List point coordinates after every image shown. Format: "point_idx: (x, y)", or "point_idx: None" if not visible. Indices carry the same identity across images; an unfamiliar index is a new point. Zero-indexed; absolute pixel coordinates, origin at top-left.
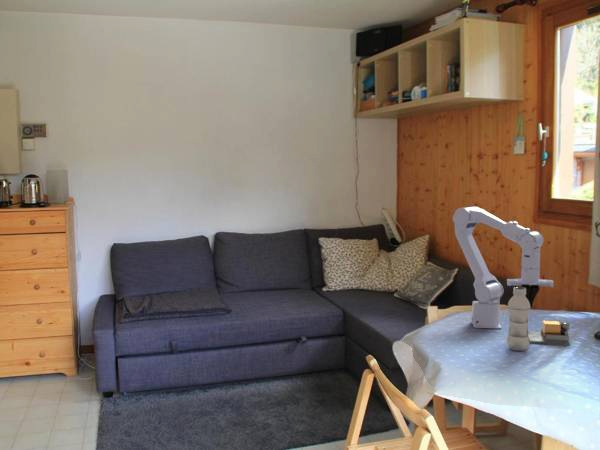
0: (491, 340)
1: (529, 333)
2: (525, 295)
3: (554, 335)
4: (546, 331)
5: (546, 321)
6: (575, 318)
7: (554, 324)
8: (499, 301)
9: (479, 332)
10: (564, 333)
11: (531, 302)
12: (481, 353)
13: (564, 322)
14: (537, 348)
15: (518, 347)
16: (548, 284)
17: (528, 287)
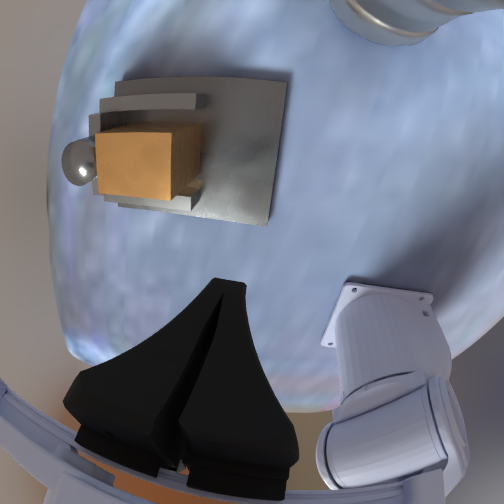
0: (445, 144)
1: (254, 196)
2: (261, 368)
3: (156, 94)
4: (181, 126)
5: (153, 185)
6: (93, 339)
7: (123, 132)
8: (353, 396)
9: (442, 246)
10: (108, 120)
11: (207, 301)
12: (499, 26)
13: (76, 175)
14: (275, 18)
15: None
16: (8, 407)
17: (202, 459)
